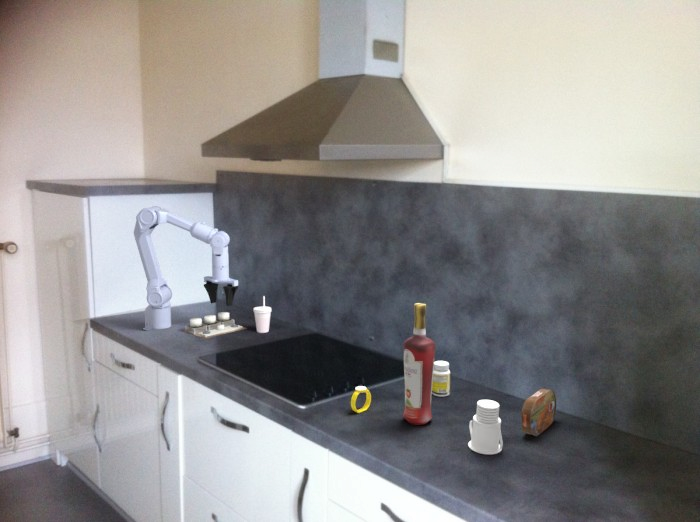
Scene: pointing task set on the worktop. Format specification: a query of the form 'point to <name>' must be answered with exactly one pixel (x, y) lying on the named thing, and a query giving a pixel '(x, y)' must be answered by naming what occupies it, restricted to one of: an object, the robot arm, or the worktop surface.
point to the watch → (353, 400)
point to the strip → (220, 330)
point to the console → (210, 328)
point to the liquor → (418, 371)
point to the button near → (195, 322)
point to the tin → (538, 412)
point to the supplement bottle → (441, 379)
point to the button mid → (209, 319)
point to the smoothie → (262, 317)
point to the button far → (223, 316)
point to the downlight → (486, 428)
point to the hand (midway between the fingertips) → (221, 304)
